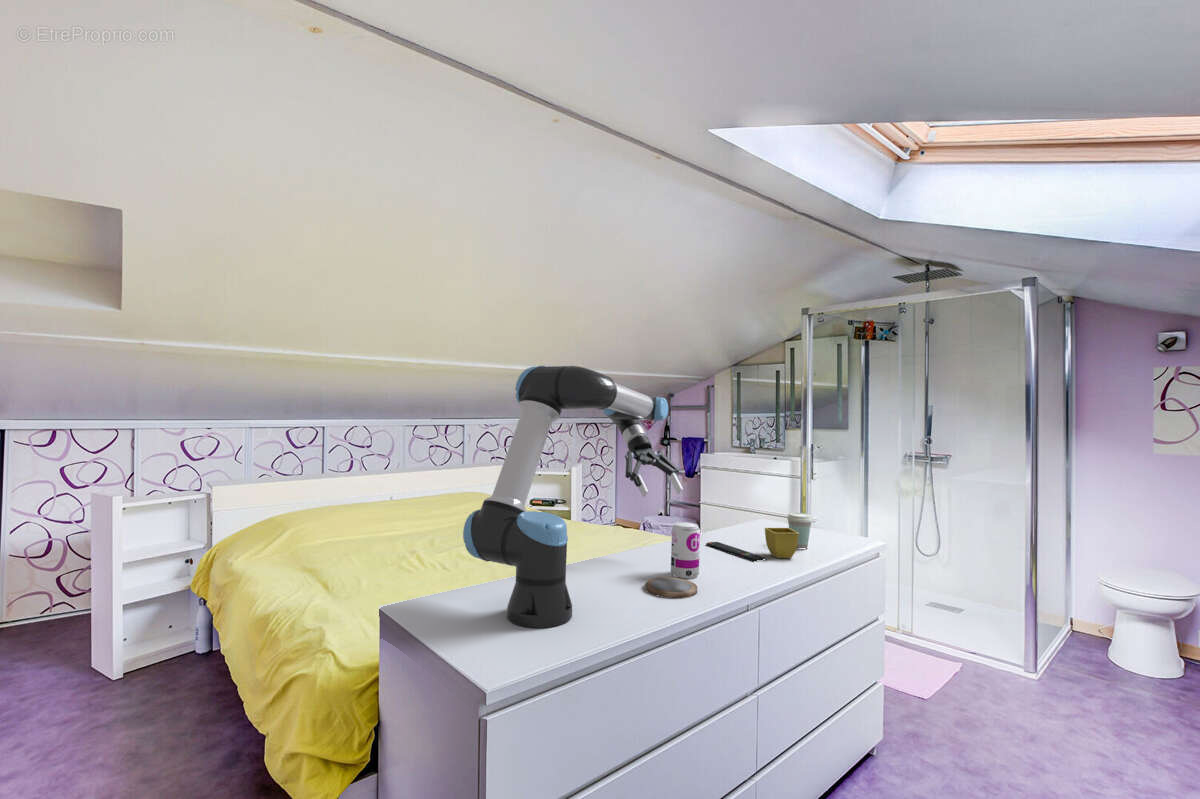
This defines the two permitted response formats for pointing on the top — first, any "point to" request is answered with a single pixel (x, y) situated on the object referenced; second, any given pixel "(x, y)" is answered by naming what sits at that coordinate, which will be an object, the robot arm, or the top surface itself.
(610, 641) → the top surface
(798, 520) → the coffee cup
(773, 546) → the flower pot
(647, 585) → the walnut pad
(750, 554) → the remote control
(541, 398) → the robot arm
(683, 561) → the supplement can
